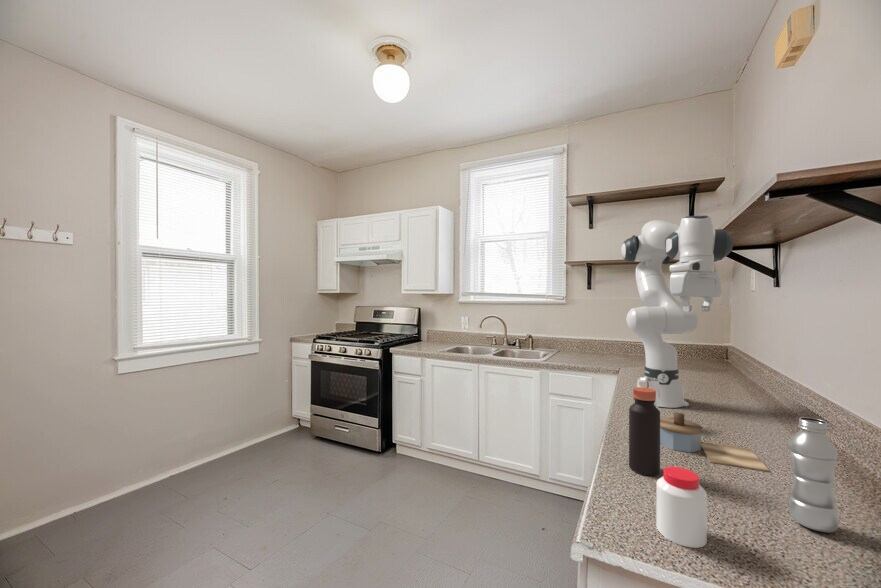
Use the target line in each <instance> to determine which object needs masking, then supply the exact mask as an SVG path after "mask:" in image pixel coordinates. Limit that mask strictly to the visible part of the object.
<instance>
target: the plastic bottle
mask: <svg viewBox="0 0 881 588" xmlns="http://www.w3.org/2000/svg"><path fill="white" fill-rule="evenodd" d="M827 422H828V421H825V420H822V419H820V418H819V419H818V418H814V417H806V416H800V417H799V419H798V426H797V428H799V429H800V430H798V431H797V432H796V433H794V434H793V435H792V436H791V437H790V438H789V441H788V443H787V444H788V451H789V456H790V462H791V468H792V485H791V494H790V497H789V502H788V509H789V514H790V515H791V517H792V518H793V520H794V521H796V522H797V524H799V525H801V526H804V527H805V528H808V529H810V530H814V531H817V532H820V533H821V532H822V533H826V534H827V533H828V534H829V533H834V532H835V531H837V530H838V528H839V524H840V517H839V511H838V508H837V506H836V505H837V504H836V498H835V490H834V487H835V486H834V484H835V483H834V482H835V472H836V468H837V464H838V463H837V462H838V454H839V453H838V450H837V448H836V447H835V445H834V444H833V442H832V441H831V440H830V439H829V438H828V436H826V434H828V423H827Z"/></svg>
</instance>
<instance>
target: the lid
mask: <svg viewBox="0 0 881 588" xmlns="http://www.w3.org/2000/svg"><path fill="white" fill-rule="evenodd" d="M660 428H662V429H664V430H667V431H670V432H674V433H679V434H687V435H696V434H701V435H702V433H703V427H702V425H700V424H698V423H696V422H694V421H690V420H687V419H685V413H682V412H677V411H676V412H673V417H660Z"/></svg>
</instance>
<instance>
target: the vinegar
mask: <svg viewBox="0 0 881 588" xmlns="http://www.w3.org/2000/svg"><path fill="white" fill-rule="evenodd" d="M632 398H633V401H634V403H632V404H631V405H630V407H629V409H628V420H629V421H628V467H629V469H631V470H632V471H633V472H634V473H637V474H639V475H643V476H647V477H651V476H652V477H653V476H658V475H659V474H660V473H661V444H660V418H661V412H660V409H659V408H658V409H657V408H656V407H655V405H654V402H656V401H655V400H656V391H655V390H653V389H650V388H644V387H637V386H636V387H634V388H633V395H632Z"/></svg>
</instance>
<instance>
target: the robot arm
mask: <svg viewBox="0 0 881 588" xmlns="http://www.w3.org/2000/svg"><path fill="white" fill-rule="evenodd" d="M733 247H734V240H733V237H732V235H731V234H730V233H729V232H728V231H727V230H725V229H722V228H719V229H714V226H713V221H712V218H711V216H708V215H688V216H684V217H682V218H681V220H680V223H679V224H677V223H674V222H671V221H667V220H663V219H653V220H650V221H648V222H646V223H644V225H642V228H641V231H640V235H635V234H634V235H632V236H631V237H629V238H626V239H625V240H624V241H623V242H622V245H621V248H620V253H621V255H622V256H621V257H622V258H623V260H624V261H625V262H628V263H629V262H630V263H635V262H636V263H637V262H639V263H638V264H637V265H636V266H635V282H636V286H637V291H638V294H639V299H640V300H641V302H643V304H645V305H646V306H645V305H644V306H639V307H632V308H630V310H629V311H628V312H627V313H626V314H627V315H626V317H625V319H626V325H627V327H628V328H629V330H630V331H631V332H633V333H634V334H635V335H637V336H638V338H639V340H641V342H642V345H643V347H644V353H645V355H644V357H645V366H644V370H643V372H644V373H643V374H644V377H650V378H656V379H658V380H659V385H660V399H659V404H658V408H659V407H661V408H669V409H671V408H672V409H674V408H682V407H689V406H690V404H689V402H687V401H686V400H685V397H684V384H683V383H682V382H681V381H680V380H679V379H680V377H679V375H680V372H679V368H678V349H676V347H675V346H674V345H672V344H670V343H668V342H667V341H664V340H663V338H662V334H663V335H664V334H666V335H672V334H673V335H682V334H688V333H693V332H694V331H695V330H696V329H697V328H698V326H699V322H700V321H699V315H698V314H697V313H696V312H695V310H693V306H692V305H691V303H690V300H691V298H693V297H698V298H702V301H703V304H702V305H701V312H710V311H711V306H712V303H713V301H714V298H719V297H720V296H721V294H722V284H721V283H722V282H721V278H720V274H718V272H717V271H716V270H715V261H721V260H723V259H725V258H726V257H727V256H729V254H730V253H732V250H733ZM672 260H676V261H677V262H675V263H673V264H671V265H669V267H668V269H669V272H670V277H669V286H668V283H667V281H666V278H665V274H664V272H663V269H662V266H663V264H664V265H668V264H669V263H670V262H671V261H672ZM678 260H679V261H678ZM675 297H679V298H680V299H679V300H677V298H675Z"/></svg>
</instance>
